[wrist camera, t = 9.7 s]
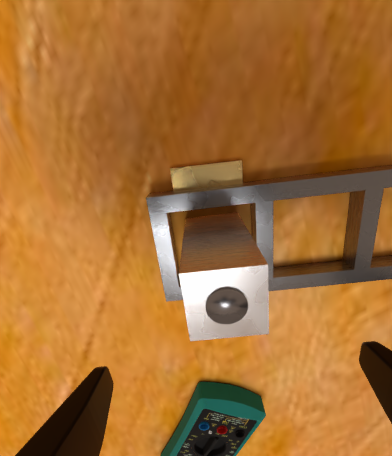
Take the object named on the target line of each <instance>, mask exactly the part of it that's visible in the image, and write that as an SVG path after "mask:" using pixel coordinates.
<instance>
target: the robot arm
mask: <svg viewBox="0 0 392 456" xmlns="http://www.w3.org/2000/svg"><path fill="white" fill-rule="evenodd" d="M359 362H360V366H361V368H362V370H363V372H364V373H365V375H366V377H367V379H368V381H369V383H370V385H371V387H372V388H373V390H374V392H375V394H376V396H377V398H378V400H379V402H380V404H381V405H382V407H383V409H384V411H385V413H386V415H387V416H388V418H389V420H390V421H391V423H392V351H391V350H390V349H388V348H386V347H385V346H383V345H381V344H380V343H378V342H375V341H371V342H363V343H362V345H361V351H360V356H359ZM112 392H113V380H112V377H111V374H110V372H109V369H108V367H106V366H104V367H96V368H95V369H93V371H92V372H91V373H90V374H89V375H88V376H87V377H86V378H85V379H84V380H83V382H82V383H81V384H80V385H79V386H78V387H77V388H76V389H75V390H74V391H73V393H72V394H71V395H70V396H69V397H68V398H67V399H66V400H65V401H64V402H63V404H62V405H61V406H60V407H59V408H58V409H57V410H56V411H55V412H54V413H53V415H52V416H51V417H50V418H49V419H48V420H47V421H46V422H45V423H44V424H43V426H42V427H41V428H40V429H39V430H38V431H37V432H36V433H35V434H34V435H33V437H32V438H31V439H30V440H29V441H28V442H27V443H26V444H25V445H24V446H23V448H22V449H21V450H20V451H19V452H18V453H17V454H16V455H15V456H99V454H100V450H101V447H102V443H103V439H104V434H105V429H106V424H107V418H108V413H109V408H110V403H111V397H112Z"/></svg>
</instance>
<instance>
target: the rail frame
mask: <svg viewBox="0 0 392 456" xmlns="http://www.w3.org/2000/svg"><path fill="white" fill-rule="evenodd" d="M170 171H171V178H172V184H173V191H165V192H157V193H150V194H149V195H148V196H147V197H146V200H147V205H148V210H149V215H150V221H151V226H152V231H153V236H154V241H155V246H156V251H157V256H158V261H159V266H160V271H161V276H162V282H163V287H164V292H165V297H166V301H175V300H183V295H182V289H181V283H180V277H179V267H178V261H177V255H176V249H175V243H174V237H173V231H172V225H171V218H170V212H178V211H186V210H195V209H204V208H213V207H222V206H230V205H239V204H248V203H251V221H252V238H253V240H254V241H255V243H256V245H257V246H258V248H259V250H260V251H261V253H262V255H263V257H264V258H265V260H266V262H267V263H268V291H276V290H286V289H296V288H306V287H316V286H326V285H336V284H346V283H356V282H366V281H376V280H386V279H392V255H388V256H378V257H372V254H373V248H374V242H375V236H376V231H377V225H378V219H379V213H380V207H381V201H382V195H383V189H384V188H388V187H392V165H387V166H378V167H370V168H361V169H353V170H344V171H336V172H327V173H319V174H310V175H301V176H293V177H284V178H276V179H267V180H259V181H250V182H243V173H242V160H236V161H227V162H219V163H211V164H202V165H194V166H186V167H178V168H171V169H170ZM344 192H351V194H350V203H349V211H348V219H347V228H346V236H345V244H344V253H343V260H340V261H330V262H320V263H311V264H301V265H291V266H282V267H273V201H274V200H283V199H292V198H301V197H309V196H318V195H327V194H336V193H344Z"/></svg>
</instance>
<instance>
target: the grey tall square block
mask: <svg viewBox="0 0 392 456" xmlns="http://www.w3.org/2000/svg"><path fill="white" fill-rule="evenodd" d="M179 277H180V283H181V289H182V295H183V301H184V307H185V313H186V319H187V325H188V331H189V337H190V341H198V340H209V339H219V338H230V337H241V336H251V335H262V334H269V293H268V263H267V262H266V260H265V258H264V257H263V255H262V253H261V251H260V250H259V248H258V246H257V245H256V243H255V241H254V240H253V238H252V236H251V235H250V233H249V231H248V229H247V228H246V226H245V224H244V223H243V221H242V219H241V218H240V216H239V214H238V213H237V212H236V213H227V214H218V215H210V216H201V217H192V218H186V219H185V228H184V236H183V244H182V253H181V261H180V269H179Z"/></svg>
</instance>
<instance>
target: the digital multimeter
mask: <svg viewBox="0 0 392 456" xmlns="http://www.w3.org/2000/svg"><path fill="white" fill-rule="evenodd" d="M265 416H266V414H265V410H264V406H263V402H262V399H261V396H259V395H257V394H255V393H253V392H251V391H248V390H246V389H243V388H241V387H238V386H234V385H230V384H223V383H215V382H199V383H198V385H197V387H196V389H195V392H194V394H193V396H192V399H191V401H190V403H189V405H188V407H187V409H186V411H185V413H184V416H183V418H182V420H181V422H180V423H179V425H178V427H177V429H176V431H175V432H174V434H173V436H172V438H171V439H170V441H169V442H168V444H167V446H166V447H165V449H164V450H163V452H162V454H161V456H236V455H237V454H238V452H239V451H240V450H241V448H242V447H243V446H244V444H245V443H246V442H247V440H248V439H249V438H250V436H251V435H252V434H253V432H254V431H255V430H256V428H257V427H258V426H259V424H260V423H261V422H262V420H263V419H264V418H265ZM197 418H198V419H197ZM192 427H193V428H192ZM188 434H189V435H188ZM184 441H185V442H184ZM226 442H227V443H226ZM183 443H184V444H183ZM180 448H181V449H180ZM179 450H180V451H179ZM193 451H194V452H193ZM196 454H197V455H196Z"/></svg>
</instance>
